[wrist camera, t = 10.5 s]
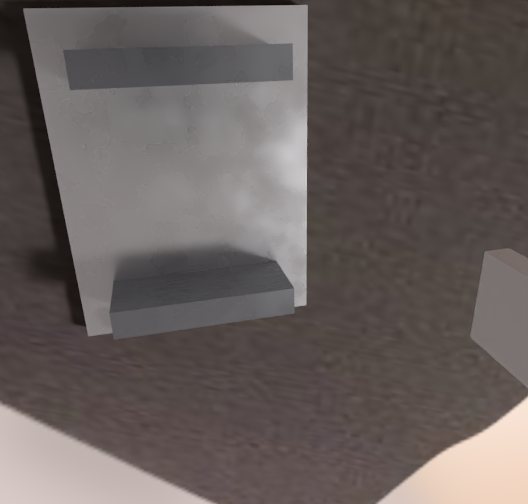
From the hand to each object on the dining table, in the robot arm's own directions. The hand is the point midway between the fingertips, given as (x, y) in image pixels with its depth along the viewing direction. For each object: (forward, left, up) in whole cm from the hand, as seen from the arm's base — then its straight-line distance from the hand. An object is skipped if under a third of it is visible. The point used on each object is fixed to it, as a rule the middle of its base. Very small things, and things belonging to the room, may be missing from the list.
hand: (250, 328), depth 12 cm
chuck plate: (0, 0, -18) cm, 18 cm away
